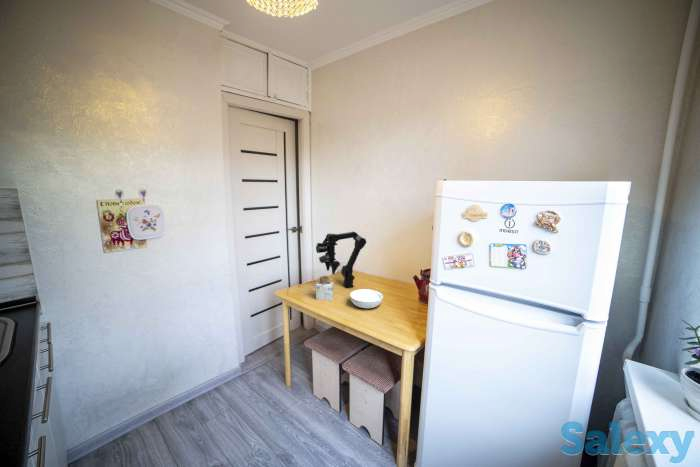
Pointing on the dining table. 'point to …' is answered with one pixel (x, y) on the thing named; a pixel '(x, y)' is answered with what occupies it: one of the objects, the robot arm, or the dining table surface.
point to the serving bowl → (366, 298)
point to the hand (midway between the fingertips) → (330, 272)
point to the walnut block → (324, 280)
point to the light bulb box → (324, 291)
